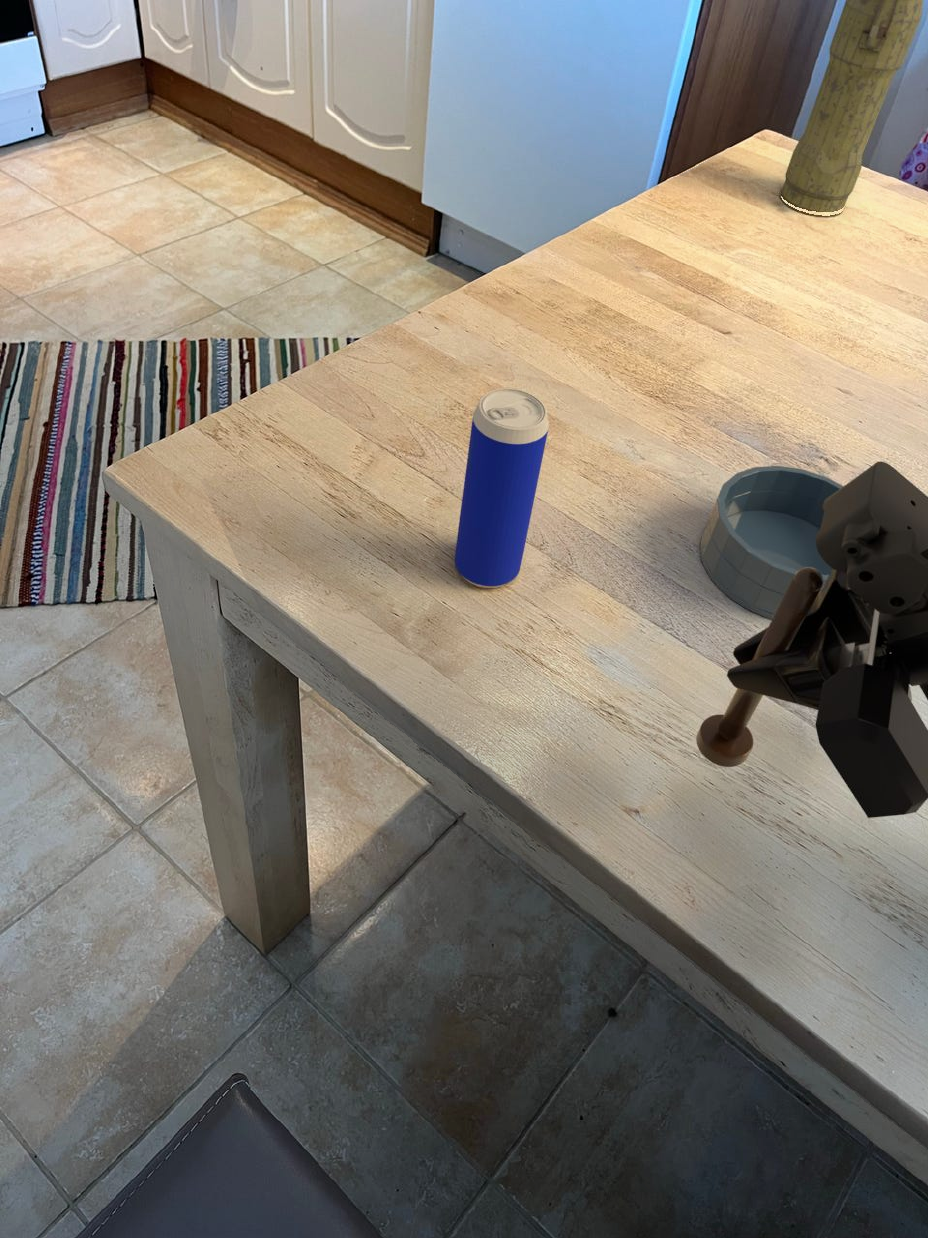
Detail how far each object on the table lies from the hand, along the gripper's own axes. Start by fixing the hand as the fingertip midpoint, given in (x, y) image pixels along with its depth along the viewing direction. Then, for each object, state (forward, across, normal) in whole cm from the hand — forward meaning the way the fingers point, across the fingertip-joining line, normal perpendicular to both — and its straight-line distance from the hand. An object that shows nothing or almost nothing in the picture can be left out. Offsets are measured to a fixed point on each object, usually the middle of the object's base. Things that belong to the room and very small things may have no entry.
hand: (733, 667), depth 52 cm
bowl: (+7, -25, +11) cm, 28 cm away
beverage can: (+22, -13, -4) cm, 26 cm away
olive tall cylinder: (+13, -100, +6) cm, 101 cm away
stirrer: (+4, 0, +6) cm, 7 cm away
